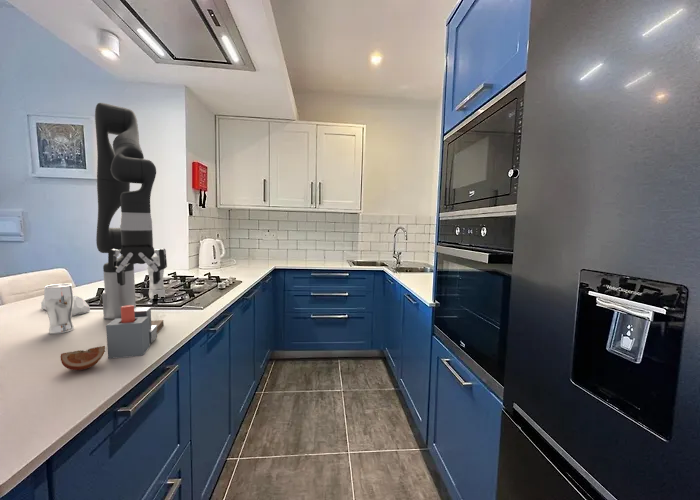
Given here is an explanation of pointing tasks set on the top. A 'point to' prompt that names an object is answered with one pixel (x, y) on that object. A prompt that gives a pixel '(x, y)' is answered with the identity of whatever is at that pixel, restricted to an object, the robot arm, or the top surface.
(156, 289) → the plastic bottle
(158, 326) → the rail
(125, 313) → the button
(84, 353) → the fruit slice
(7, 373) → the top surface
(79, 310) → the crystal
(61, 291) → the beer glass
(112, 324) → the cabinet
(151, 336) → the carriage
